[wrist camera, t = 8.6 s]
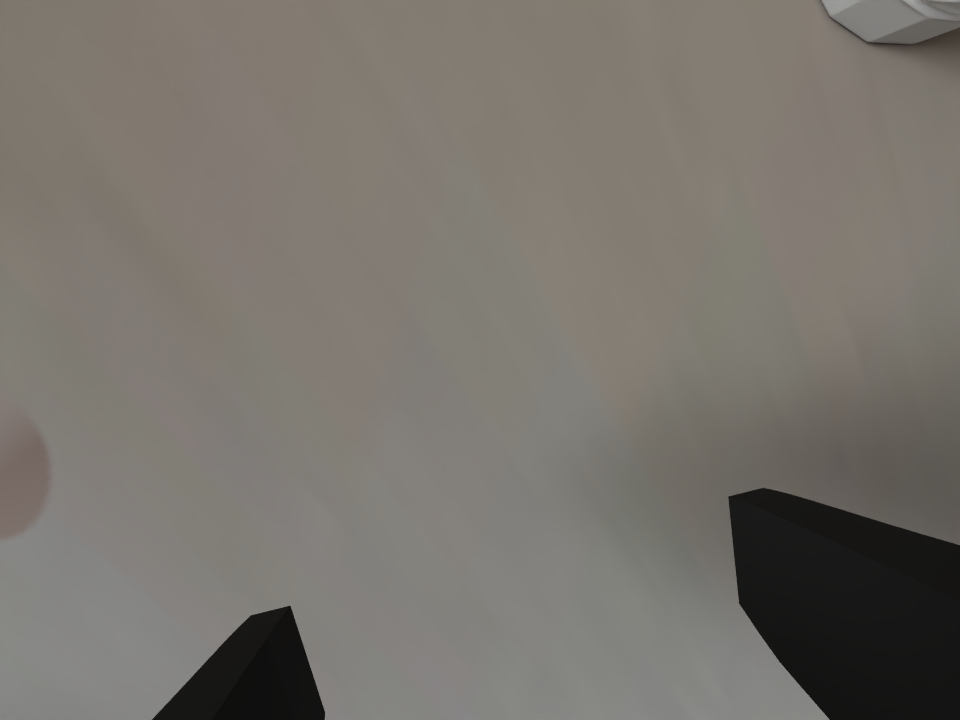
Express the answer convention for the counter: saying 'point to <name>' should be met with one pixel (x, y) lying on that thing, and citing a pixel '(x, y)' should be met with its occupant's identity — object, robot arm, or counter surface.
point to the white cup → (895, 18)
